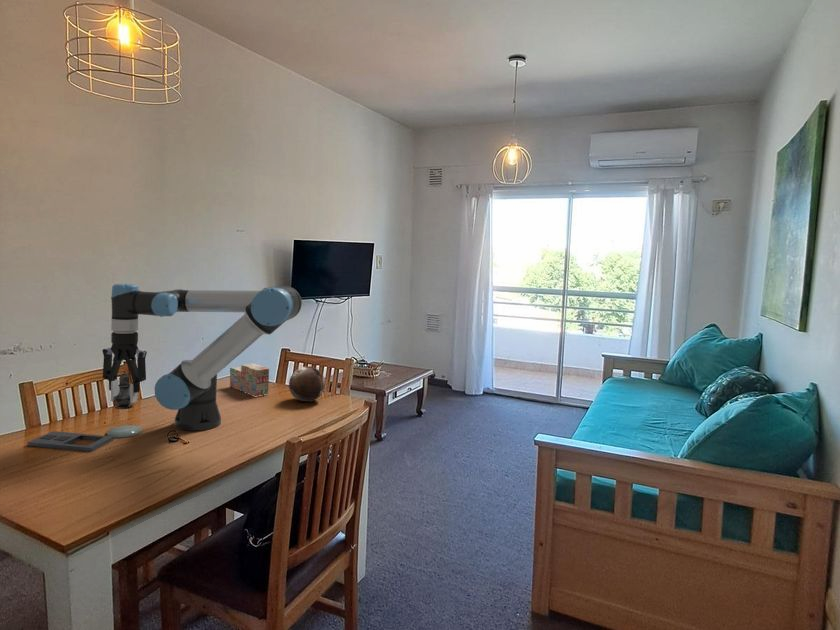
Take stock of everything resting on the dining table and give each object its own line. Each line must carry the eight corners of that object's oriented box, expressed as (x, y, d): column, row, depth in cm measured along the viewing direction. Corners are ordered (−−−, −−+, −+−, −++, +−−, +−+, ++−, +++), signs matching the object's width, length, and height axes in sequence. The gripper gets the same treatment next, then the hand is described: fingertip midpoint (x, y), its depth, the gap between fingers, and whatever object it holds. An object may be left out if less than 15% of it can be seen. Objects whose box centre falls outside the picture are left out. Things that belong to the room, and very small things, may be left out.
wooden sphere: (280, 400, 218) (282, 366, 216) (307, 394, 230) (308, 361, 229) (305, 408, 209) (306, 372, 208) (331, 401, 222) (333, 367, 220)
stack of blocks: (229, 387, 234) (230, 361, 232) (241, 385, 238) (242, 359, 237) (255, 398, 220) (256, 369, 219) (268, 395, 225) (269, 368, 224)
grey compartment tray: (113, 440, 163) (113, 436, 163) (91, 451, 153) (91, 447, 153) (53, 434, 164) (53, 430, 164) (27, 445, 154) (27, 441, 154)
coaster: (147, 429, 175) (147, 426, 174) (129, 439, 165) (129, 436, 165) (119, 426, 175) (119, 424, 175) (99, 436, 165) (99, 434, 165)
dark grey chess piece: (125, 410, 166) (125, 374, 164) (109, 408, 167) (109, 372, 165) (138, 405, 171) (138, 370, 170) (123, 403, 172) (123, 368, 171)
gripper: (159, 332, 169) (158, 400, 172) (104, 327, 170) (104, 395, 173) (146, 335, 162) (145, 406, 164) (88, 330, 163) (88, 401, 166)
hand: (124, 400), depth 169 cm, fingers closed on dark grey chess piece, 6 cm apart
